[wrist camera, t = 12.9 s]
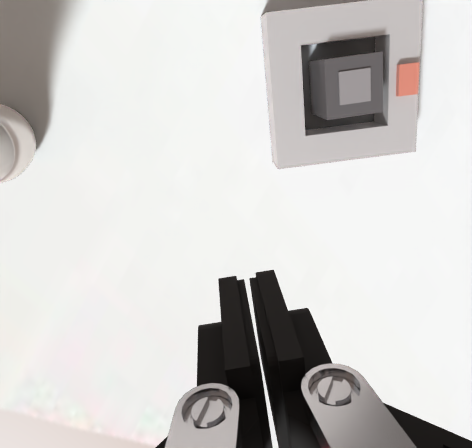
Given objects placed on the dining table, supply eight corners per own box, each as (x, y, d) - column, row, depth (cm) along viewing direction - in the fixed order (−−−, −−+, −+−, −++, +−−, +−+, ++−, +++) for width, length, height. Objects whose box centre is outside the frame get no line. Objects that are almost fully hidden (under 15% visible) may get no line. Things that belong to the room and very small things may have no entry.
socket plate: (260, 17, 33) (266, 11, 30) (404, 0, 33) (426, -8, 30) (272, 161, 37) (279, 170, 34) (400, 145, 38) (418, 152, 34)
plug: (308, 61, 35) (325, 59, 30) (358, 54, 35) (383, 51, 30) (311, 113, 36) (327, 120, 31) (359, 106, 36) (383, 112, 32)
